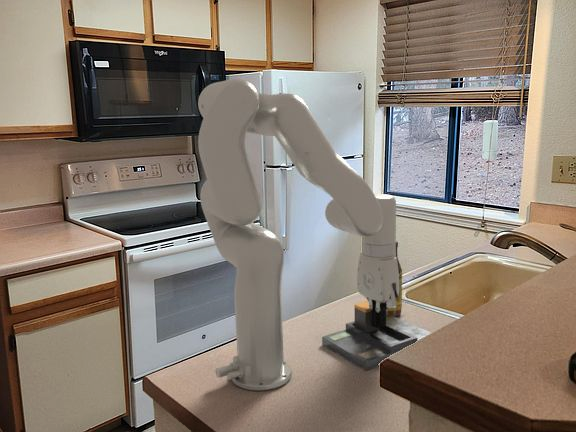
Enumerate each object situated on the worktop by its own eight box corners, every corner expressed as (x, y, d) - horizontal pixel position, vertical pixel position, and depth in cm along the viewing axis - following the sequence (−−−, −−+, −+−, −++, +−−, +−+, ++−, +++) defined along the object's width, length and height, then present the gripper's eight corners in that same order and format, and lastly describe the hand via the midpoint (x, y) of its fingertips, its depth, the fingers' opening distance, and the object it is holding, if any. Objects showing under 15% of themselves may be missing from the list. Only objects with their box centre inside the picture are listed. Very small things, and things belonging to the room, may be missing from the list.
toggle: (365, 333, 124) (365, 309, 123) (354, 328, 127) (354, 304, 126) (378, 329, 126) (378, 305, 125) (367, 324, 129) (367, 300, 128)
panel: (365, 370, 111) (365, 355, 110) (322, 344, 124) (321, 330, 123) (439, 344, 122) (439, 330, 122) (392, 322, 135) (392, 310, 135)
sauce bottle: (401, 318, 138) (402, 244, 134) (377, 317, 139) (377, 244, 135) (401, 309, 144) (402, 238, 140) (378, 308, 145) (378, 238, 142)
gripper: (345, 245, 123) (346, 319, 127) (388, 259, 111) (387, 341, 114) (370, 240, 127) (370, 312, 131) (414, 253, 115) (413, 332, 118)
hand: (378, 325), depth 123 cm, fingers closed
